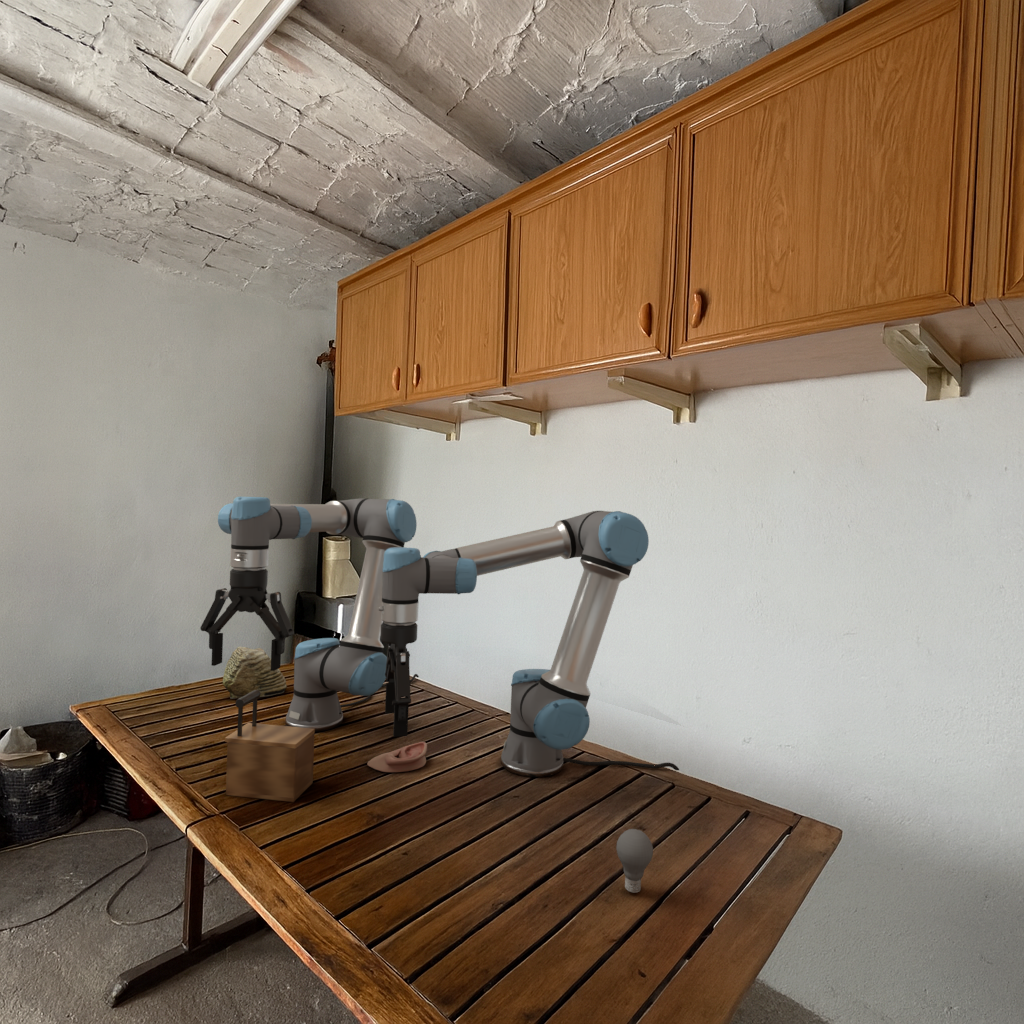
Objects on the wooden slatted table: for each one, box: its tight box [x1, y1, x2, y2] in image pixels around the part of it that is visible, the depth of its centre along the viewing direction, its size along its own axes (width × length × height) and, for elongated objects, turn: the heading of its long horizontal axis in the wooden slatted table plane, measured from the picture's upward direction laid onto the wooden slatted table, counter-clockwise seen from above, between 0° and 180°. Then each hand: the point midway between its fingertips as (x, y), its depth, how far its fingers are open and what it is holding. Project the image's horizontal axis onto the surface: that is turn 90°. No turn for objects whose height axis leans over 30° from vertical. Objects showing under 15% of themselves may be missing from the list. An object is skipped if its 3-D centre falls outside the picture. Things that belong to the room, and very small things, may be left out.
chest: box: [225, 732, 316, 803], centre depth 136 cm, size 15×9×11 cm, turn 83°
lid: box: [224, 690, 316, 748], centre depth 136 cm, size 16×9×9 cm, turn 83°
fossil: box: [222, 646, 288, 699], centre depth 198 cm, size 9×18×15 cm, turn 132°
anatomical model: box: [366, 741, 428, 773], centre depth 152 cm, size 13×4×12 cm
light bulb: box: [615, 828, 654, 894], centre depth 106 cm, size 6×6×10 cm
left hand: (245, 666), depth 136 cm, fingers open, 13 cm apart
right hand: (395, 724), depth 132 cm, fingers open, 13 cm apart
